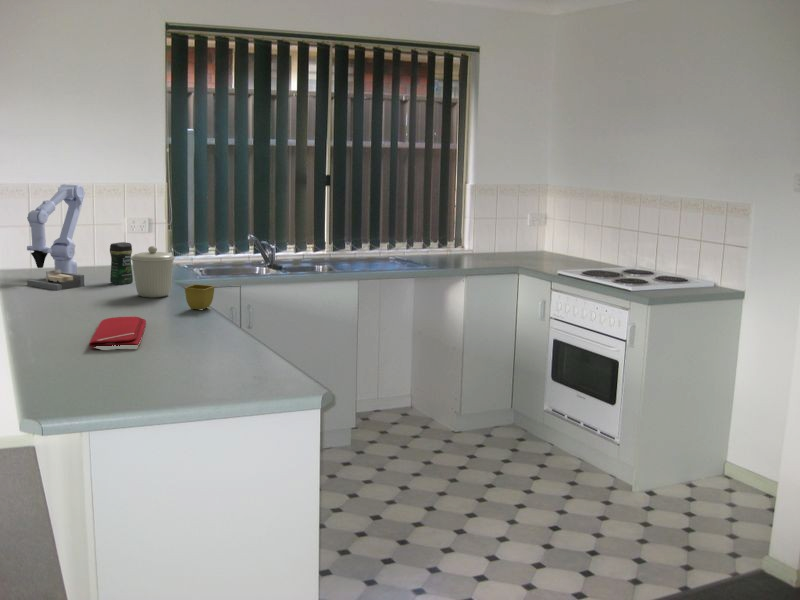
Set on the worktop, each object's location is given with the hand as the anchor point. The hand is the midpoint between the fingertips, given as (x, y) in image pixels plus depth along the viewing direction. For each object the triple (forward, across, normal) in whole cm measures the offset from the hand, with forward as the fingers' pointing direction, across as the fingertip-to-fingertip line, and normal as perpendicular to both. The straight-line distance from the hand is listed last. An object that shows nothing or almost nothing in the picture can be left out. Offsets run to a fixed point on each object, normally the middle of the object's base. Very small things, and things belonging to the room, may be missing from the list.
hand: (40, 267), depth 396 cm
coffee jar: (+7, +27, +22) cm, 36 cm away
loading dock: (+7, +10, 0) cm, 13 cm away
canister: (+7, +61, +9) cm, 62 cm away
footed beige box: (+5, +14, 0) cm, 15 cm away
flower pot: (+7, +96, 0) cm, 96 cm away
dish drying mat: (+7, +107, -50) cm, 118 cm away
